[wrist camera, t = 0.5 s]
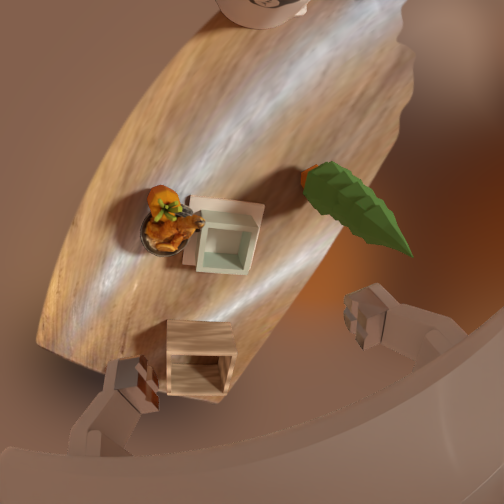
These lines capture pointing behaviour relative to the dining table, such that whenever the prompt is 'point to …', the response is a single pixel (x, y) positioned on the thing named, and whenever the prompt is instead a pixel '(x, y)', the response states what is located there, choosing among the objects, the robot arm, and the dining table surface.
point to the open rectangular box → (223, 235)
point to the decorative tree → (352, 205)
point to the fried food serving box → (203, 344)
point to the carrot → (163, 203)
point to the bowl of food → (170, 232)
